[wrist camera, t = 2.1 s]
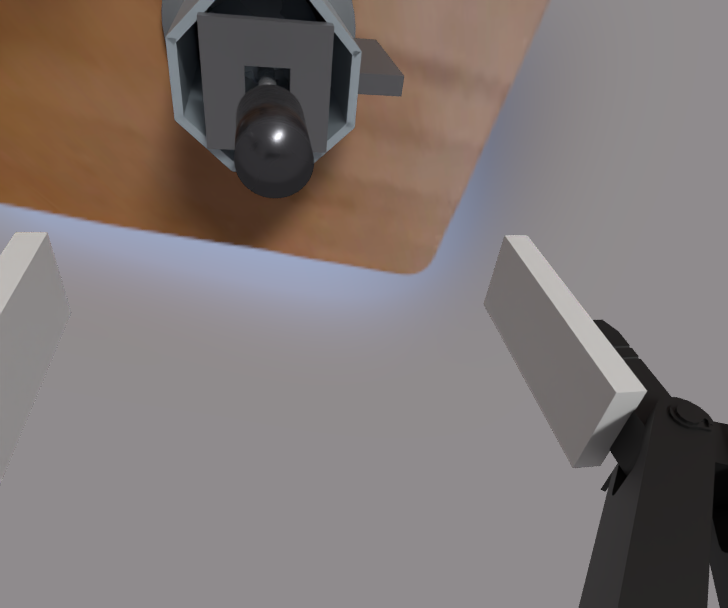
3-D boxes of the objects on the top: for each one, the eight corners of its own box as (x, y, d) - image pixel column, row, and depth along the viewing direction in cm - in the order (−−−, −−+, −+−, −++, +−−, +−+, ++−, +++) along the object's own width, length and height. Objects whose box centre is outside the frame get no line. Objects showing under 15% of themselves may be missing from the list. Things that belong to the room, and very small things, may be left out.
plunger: (208, 95, 39) (181, 246, 23) (198, -32, 34) (157, 49, 18) (316, 101, 41) (361, 246, 25) (322, -20, 36) (382, 64, 20)
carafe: (196, 98, 41) (179, 176, 31) (182, -59, 35) (155, -30, 25) (362, 107, 44) (398, 181, 33) (377, -38, 38) (427, -4, 27)
